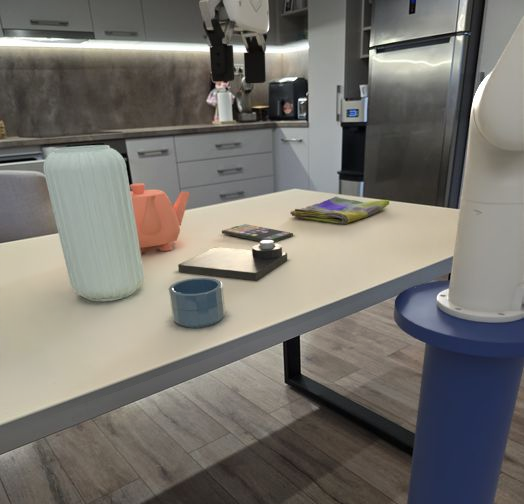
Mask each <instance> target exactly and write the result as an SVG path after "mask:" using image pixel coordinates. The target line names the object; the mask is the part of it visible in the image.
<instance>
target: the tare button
mask: <svg viewBox="0 0 524 504" xmlns="http://www.w3.org/2000/svg"><path fill="white" fill-rule="evenodd" d="M274 243H275V242H274V241H272V240H262V241H259V244H260V249H271V248H274Z"/></svg>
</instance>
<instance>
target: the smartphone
mask: <svg viewBox="0 0 524 504" xmlns="http://www.w3.org/2000/svg"><path fill="white" fill-rule="evenodd" d="M221 234H223V235H227V236H233V237H238V238H242V239H246V240H247V239H248V240H252V241H257V242H260V241H262V240H272V241H274V243H275V242H279V241H281V240H284V239H288V238H291V237H294V232H289V231H284V230H278V229H275V228H274V229H273V228H269V227H263V226H257V225H252V224H247V223H244V224H241V225H237V226H236V225H235V226H233V227H230V228H226V229H222V230H221Z"/></svg>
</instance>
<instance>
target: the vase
mask: <svg viewBox="0 0 524 504" xmlns="http://www.w3.org/2000/svg"><path fill="white" fill-rule="evenodd" d="M52 150H53V151H52V152H50V153H49V154H48V155H47V156H46V158H45V159H44V162H43V166H42V168H43V174H44V178H45V182H46V187H47V191H48V195H49V200H50V203H51V207H52V208H51V209H52V212H53V216H54V221H55V224H56V229H57V233H58V237H59V241H60V245H61V249H62V254H63V259H64V262H65V267H66V271H67V275H68V280H69V283H70V286H71V288H72V289H73V291H74V292H75V293H76V294H77V295H79V296H80V297H83V298H85V299H87V300H89V301H91V302H100V303H102V302H113V301H119V300H122V299H125V298H127V297H130V296H131V295H133V294H134V293H135V292H136V290H138V289H139V288H140V287H141V285H142V283H143V281H144V278H145V273H144V266H143V260H142V254H140V247H139V241H138V235H137V229H136V223H135V217H134V211H133V205H132V199H131V193H130V191H131V187H130V182H129V175H128V170H127V163H126V161H125V159H124V157H123V155H122V154H121V153H120V152H119V151H118V150H116V149H115V148H112V147H111V146H110V145H108V144H95V145H78V146H66V147H58V148H57V147H56V148H53V149H52Z"/></svg>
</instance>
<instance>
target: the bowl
mask: <svg viewBox="0 0 524 504" xmlns="http://www.w3.org/2000/svg"><path fill="white" fill-rule="evenodd" d="M168 295H169V302H170V309H171V316H172V319H173V321H174V322H175V323H177V324H178V325H179V326H181V327H184V328H190V329H197V328H205V327H206V328H207V327H209V326H212V325H215V324H217V323H219V322H220V321H221V320H222V319H223V318H224V317H225V314H226V307H225V299H224V298H225V296H224V285H223V283H222V282H221V281H220V280H218V279H217V278H216V279H215V278H209V277H194V278H186V279H183V280H180V281H177V282H175V283H173V284H171V285H169V287H168Z"/></svg>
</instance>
